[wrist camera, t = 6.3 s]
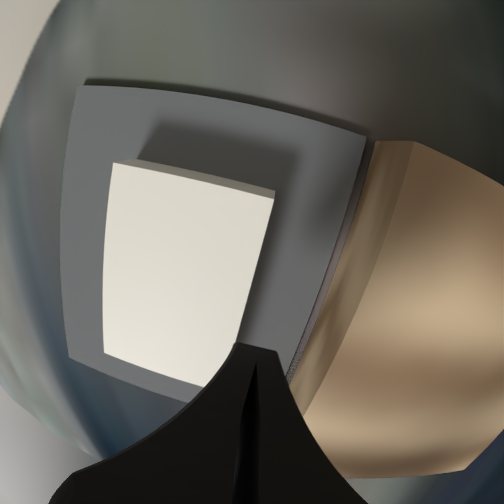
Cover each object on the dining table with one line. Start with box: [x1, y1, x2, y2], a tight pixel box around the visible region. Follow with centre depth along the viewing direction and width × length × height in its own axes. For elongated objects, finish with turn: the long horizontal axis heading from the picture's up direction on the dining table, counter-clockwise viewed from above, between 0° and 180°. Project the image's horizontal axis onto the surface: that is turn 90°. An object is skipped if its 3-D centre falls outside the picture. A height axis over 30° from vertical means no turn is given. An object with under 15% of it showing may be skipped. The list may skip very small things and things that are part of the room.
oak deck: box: [289, 141, 504, 478], centre depth 12 cm, size 16×14×4 cm
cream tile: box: [103, 159, 275, 387], centre depth 13 cm, size 9×6×2 cm, turn 166°
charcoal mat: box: [60, 85, 367, 403], centre depth 14 cm, size 16×13×1 cm
